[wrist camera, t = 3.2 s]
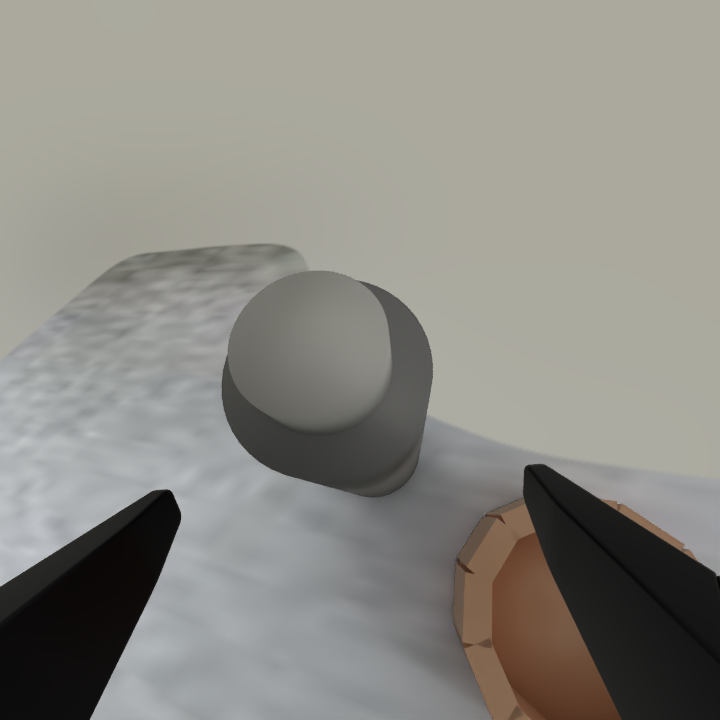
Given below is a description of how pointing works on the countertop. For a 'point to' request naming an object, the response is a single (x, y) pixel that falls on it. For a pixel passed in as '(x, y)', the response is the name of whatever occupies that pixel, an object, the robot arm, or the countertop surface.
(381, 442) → the pepper mill
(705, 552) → the countertop surface
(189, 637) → the countertop surface
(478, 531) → the terracotta bowl
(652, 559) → the robot arm
